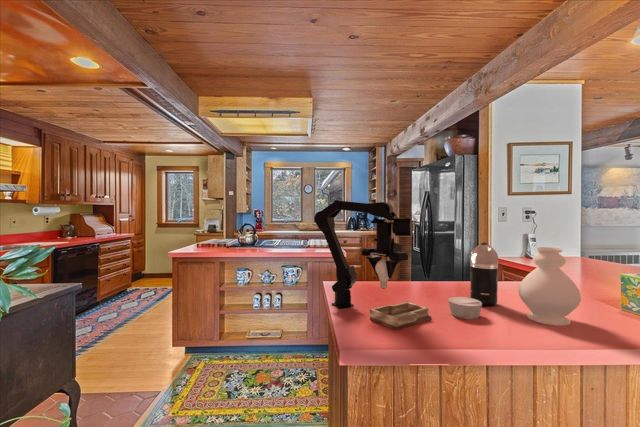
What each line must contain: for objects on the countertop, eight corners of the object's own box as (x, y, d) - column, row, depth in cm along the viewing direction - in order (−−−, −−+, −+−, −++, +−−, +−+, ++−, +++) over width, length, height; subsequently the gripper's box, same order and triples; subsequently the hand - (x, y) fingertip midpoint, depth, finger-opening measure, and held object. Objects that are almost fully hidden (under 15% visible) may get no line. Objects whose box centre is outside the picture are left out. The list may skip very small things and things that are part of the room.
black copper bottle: (470, 305, 129) (471, 243, 129) (469, 298, 139) (469, 240, 138) (499, 308, 125) (500, 244, 125) (496, 301, 135) (496, 241, 134)
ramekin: (476, 323, 110) (476, 307, 109) (443, 315, 117) (443, 301, 117) (485, 315, 118) (486, 300, 118) (454, 308, 125) (454, 295, 125)
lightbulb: (392, 291, 118) (392, 261, 117) (375, 290, 119) (375, 260, 119) (392, 287, 124) (392, 258, 124) (375, 286, 125) (375, 258, 125)
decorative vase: (566, 332, 101) (567, 253, 100) (508, 316, 116) (509, 247, 115) (589, 322, 110) (590, 249, 110) (532, 308, 125) (533, 244, 125)
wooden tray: (369, 319, 113) (369, 309, 113) (404, 310, 123) (404, 301, 123) (395, 329, 103) (395, 319, 103) (431, 319, 113) (431, 309, 113)
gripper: (418, 236, 118) (417, 278, 118) (380, 233, 133) (380, 270, 133) (397, 237, 112) (397, 282, 112) (360, 234, 127) (360, 273, 127)
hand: (383, 276), depth 121 cm, fingers closed on lightbulb, 6 cm apart
